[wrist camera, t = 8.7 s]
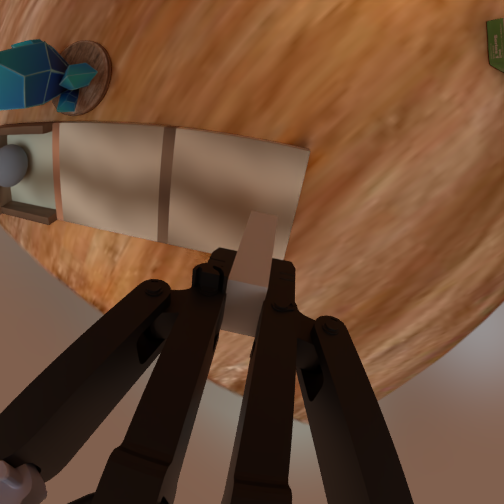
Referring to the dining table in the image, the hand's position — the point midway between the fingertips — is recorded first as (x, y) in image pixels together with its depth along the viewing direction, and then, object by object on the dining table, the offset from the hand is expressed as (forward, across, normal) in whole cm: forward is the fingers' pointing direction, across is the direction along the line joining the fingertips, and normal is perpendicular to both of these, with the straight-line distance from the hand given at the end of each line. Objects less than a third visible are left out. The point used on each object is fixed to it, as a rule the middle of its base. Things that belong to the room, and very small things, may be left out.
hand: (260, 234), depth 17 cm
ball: (+4, -26, 0) cm, 27 cm away
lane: (+7, -14, -1) cm, 16 cm away
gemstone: (+7, -19, +8) cm, 22 cm away
